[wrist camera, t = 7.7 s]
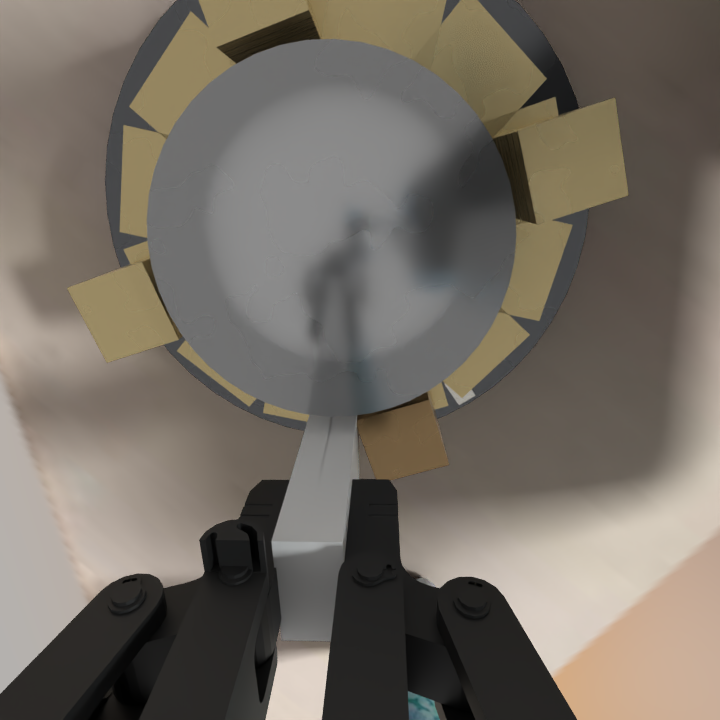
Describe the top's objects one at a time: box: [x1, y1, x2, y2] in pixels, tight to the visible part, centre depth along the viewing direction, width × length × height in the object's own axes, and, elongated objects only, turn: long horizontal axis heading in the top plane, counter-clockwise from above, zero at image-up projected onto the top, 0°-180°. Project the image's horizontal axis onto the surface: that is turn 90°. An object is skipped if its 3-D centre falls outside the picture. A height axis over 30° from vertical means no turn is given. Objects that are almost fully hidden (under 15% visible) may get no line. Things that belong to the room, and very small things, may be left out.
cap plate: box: [105, 0, 589, 433], centre depth 16 cm, size 18×18×9 cm
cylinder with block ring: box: [67, 0, 628, 480], centre depth 16 cm, size 15×15×5 cm
